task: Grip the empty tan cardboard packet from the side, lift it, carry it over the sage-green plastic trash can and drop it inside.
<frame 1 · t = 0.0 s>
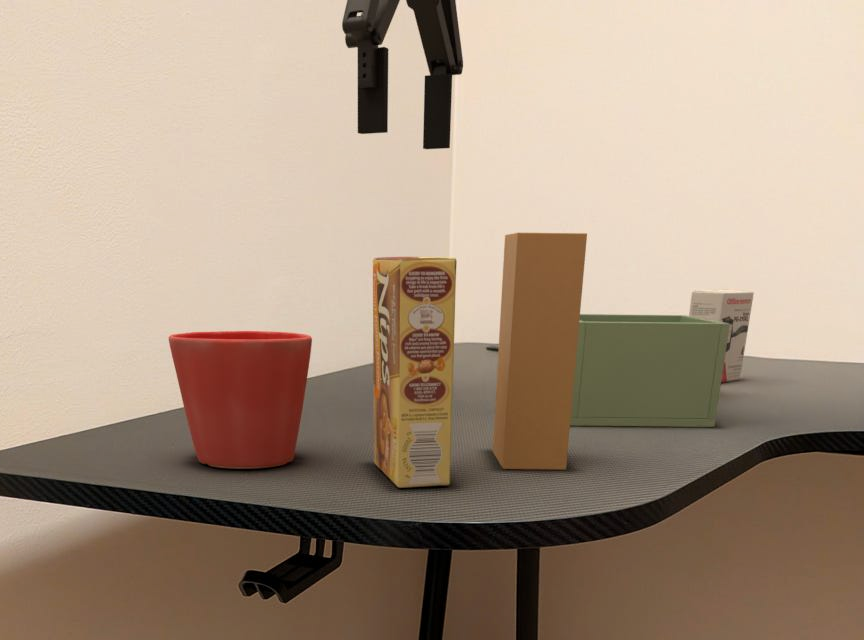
hand: (406, 141, 88), 26 cm above the table, tool pointing down, fingers open, 13 cm apart
flower pot: (246, 462, 74), on the table
trash can: (624, 415, 97), on the table
ink box: (710, 381, 127), on the table
candy box: (408, 477, 69), on the table
packet: (527, 460, 75), on the table
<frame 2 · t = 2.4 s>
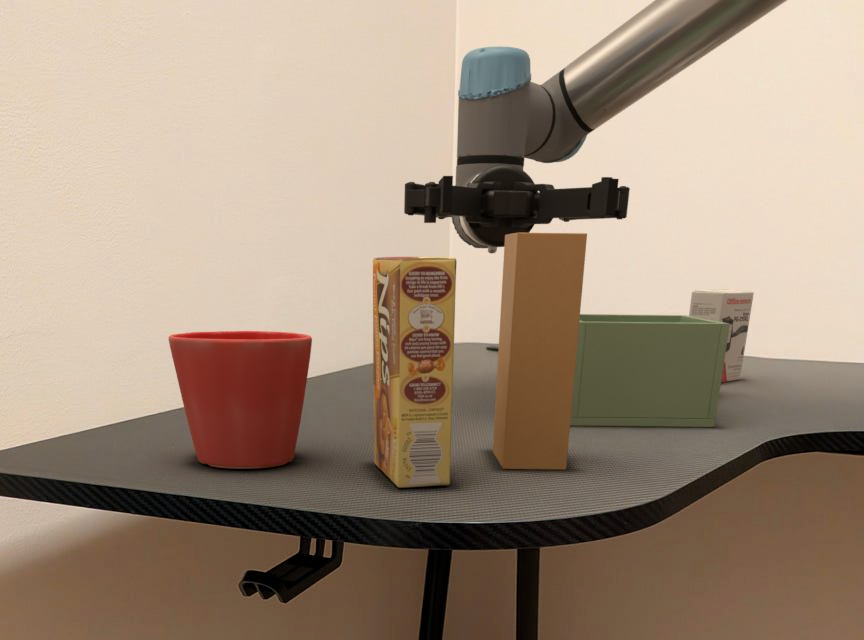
hand: (530, 195, 75), 20 cm above the table, tool horizontal, fingers open, 13 cm apart
nothing on the table moved.
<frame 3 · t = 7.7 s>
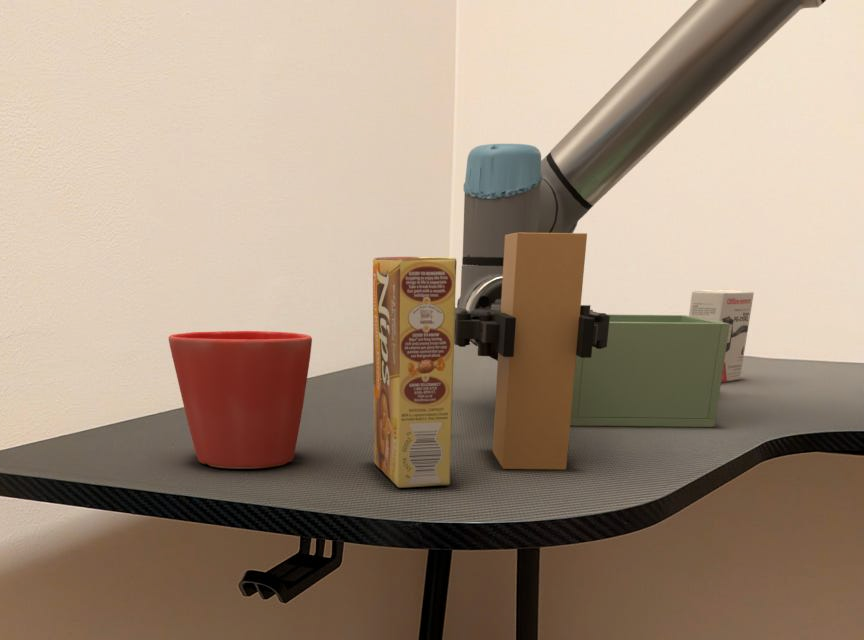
hand: (548, 337, 66), 10 cm above the table, tool horizontal, fingers closed on packet, 5 cm apart
packet: (527, 460, 75), on the table, touching gripper
everything else where it was.
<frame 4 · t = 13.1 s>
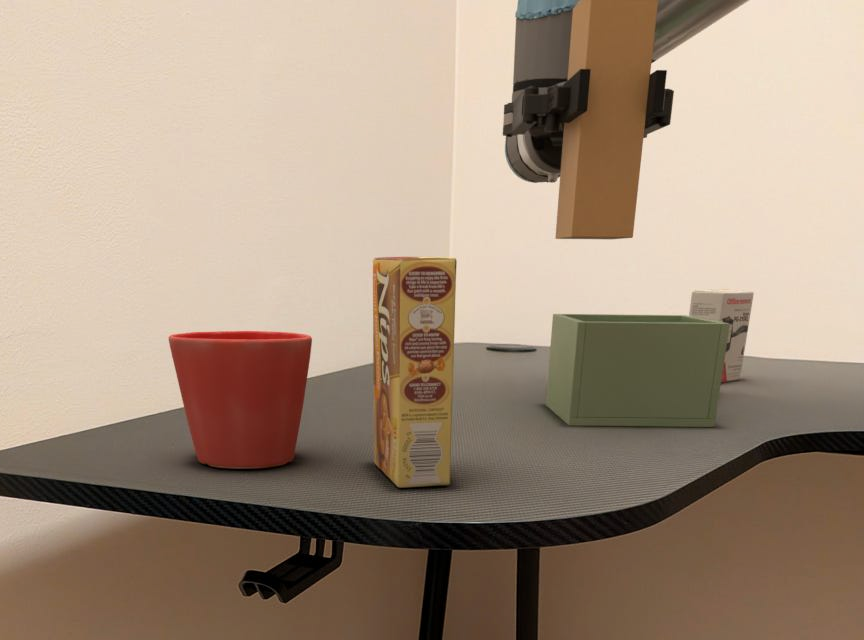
hand: (621, 90, 68), 27 cm above the table, tool horizontal, fingers closed on packet, 5 cm apart
packet: (592, 238, 77), point 17 cm above the table, touching gripper
everything else where it was.
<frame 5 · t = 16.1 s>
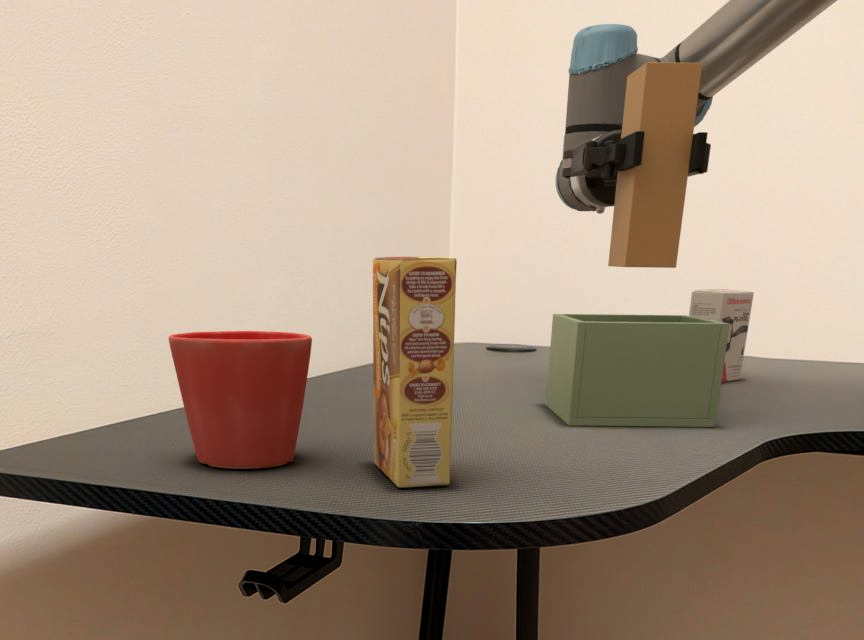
hand: (669, 148, 82), 25 cm above the table, tool horizontal, fingers closed on packet, 5 cm apart
packet: (640, 266, 91), point 15 cm above the table, touching gripper
everything else where it was.
when the fingers open (17 cm above the table, at t = 18.6 s): packet drops 6 cm, resting on trash can.
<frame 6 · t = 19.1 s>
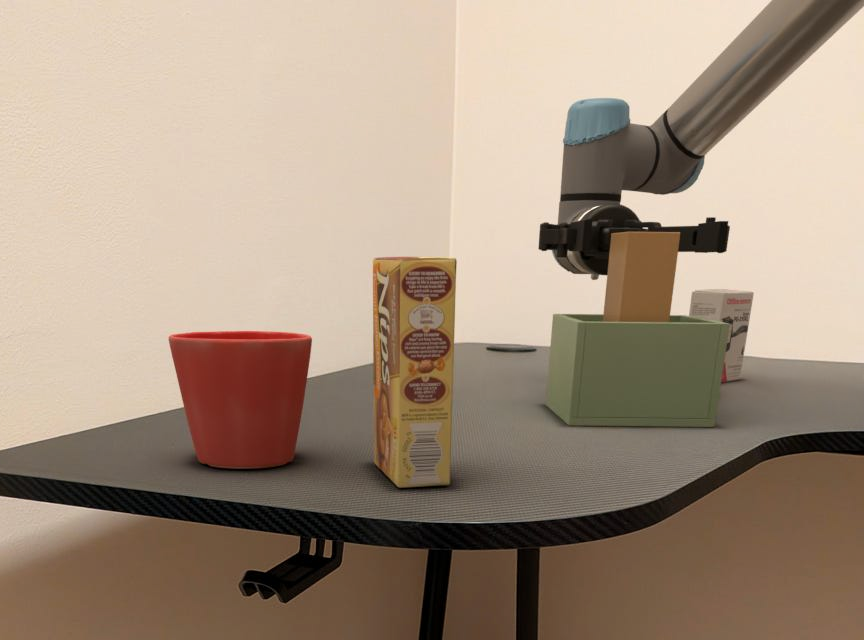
hand: (654, 235, 87), 17 cm above the table, tool horizontal, fingers open, 12 cm apart
packet: (625, 407, 97), point 1 cm above the table, touching trash can
everything else where it was.
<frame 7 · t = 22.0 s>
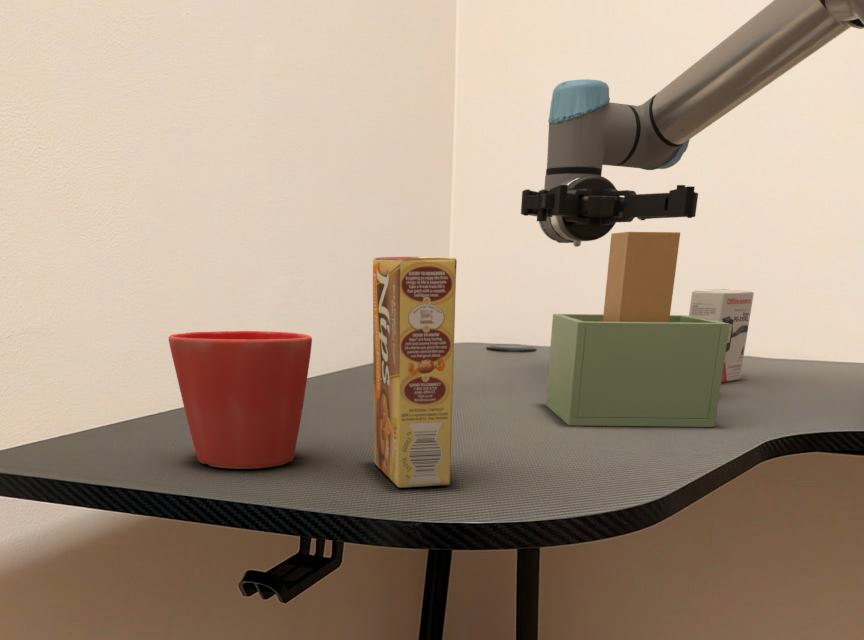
hand: (626, 199, 97), 21 cm above the table, tool horizontal, fingers open, 13 cm apart
nothing on the table moved.
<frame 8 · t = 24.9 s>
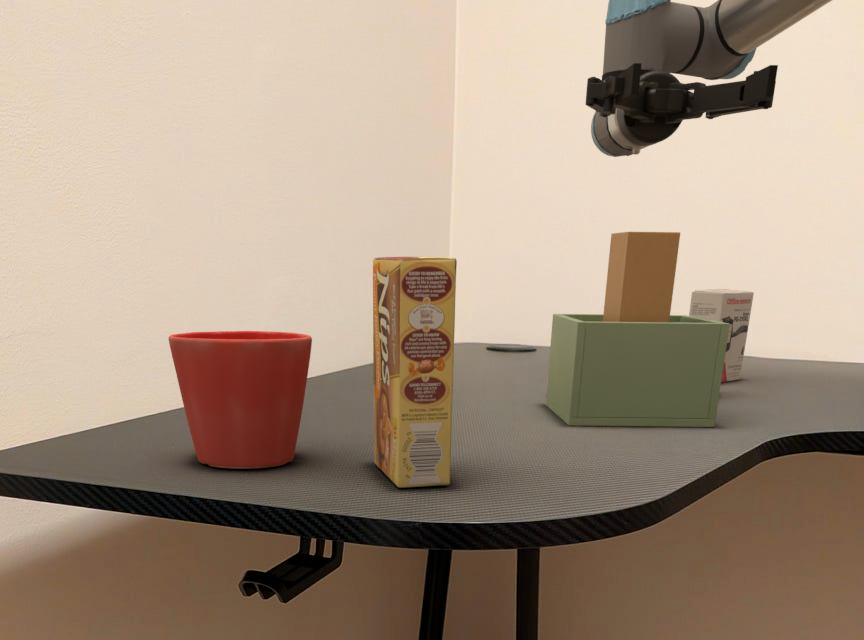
hand: (704, 79, 91), 32 cm above the table, tool horizontal, fingers open, 13 cm apart
nothing on the table moved.
at the end: packet inside the target area in the trash can (0.0 cm from its centre), point 0.8 cm above the trash can's base; the gripper is holding nothing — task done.
